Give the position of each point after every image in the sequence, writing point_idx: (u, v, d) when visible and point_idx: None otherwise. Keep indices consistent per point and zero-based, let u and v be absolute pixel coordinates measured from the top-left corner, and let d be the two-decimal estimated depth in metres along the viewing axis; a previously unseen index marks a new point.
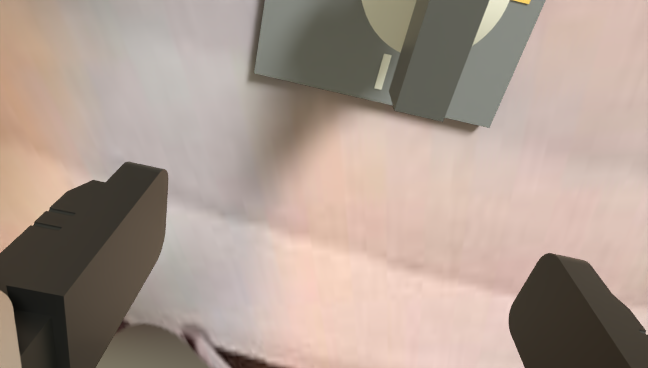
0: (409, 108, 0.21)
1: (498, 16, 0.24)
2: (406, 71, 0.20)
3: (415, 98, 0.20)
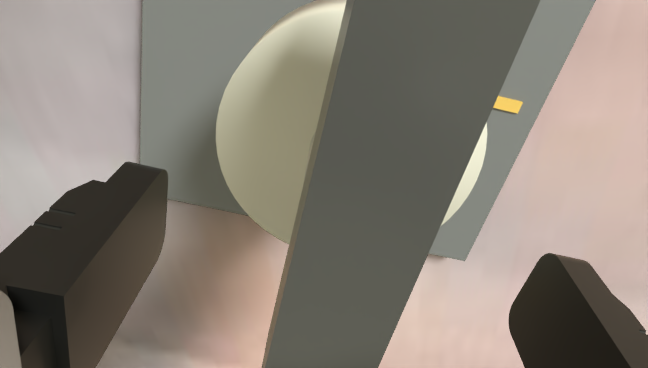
0: None
1: (457, 203, 0.14)
2: None
3: None
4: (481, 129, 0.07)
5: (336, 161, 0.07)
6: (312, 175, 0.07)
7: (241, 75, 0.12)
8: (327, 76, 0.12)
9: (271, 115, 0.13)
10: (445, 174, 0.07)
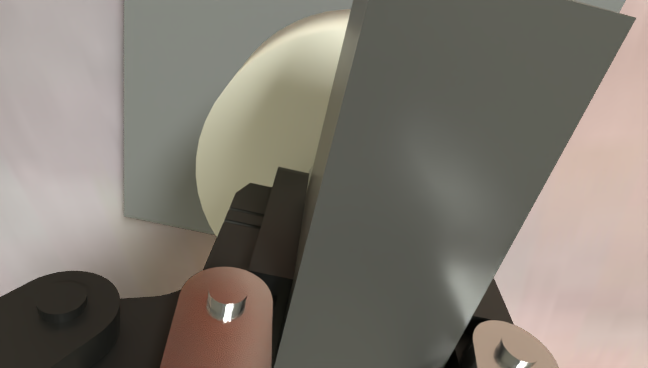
0: None
1: None
2: None
3: None
4: (530, 204, 0.05)
5: (335, 242, 0.05)
6: (303, 258, 0.06)
7: (224, 103, 0.10)
8: (324, 106, 0.10)
9: (259, 149, 0.11)
10: (479, 259, 0.05)
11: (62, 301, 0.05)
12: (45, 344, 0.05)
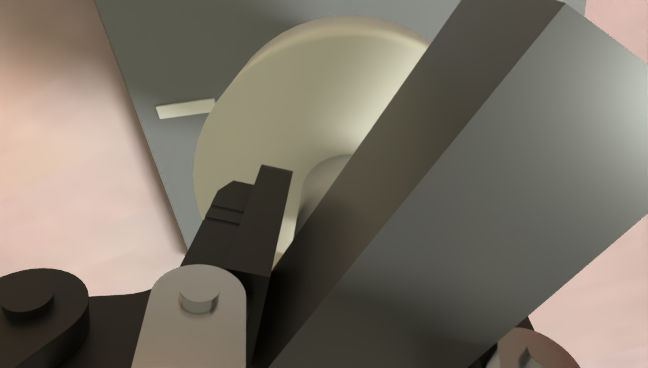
0: None
1: None
2: None
3: None
4: (582, 266, 0.05)
5: (394, 254, 0.05)
6: (355, 262, 0.05)
7: (255, 76, 0.10)
8: (353, 108, 0.10)
9: (274, 131, 0.11)
10: (516, 303, 0.06)
11: (28, 299, 0.05)
12: (8, 342, 0.05)
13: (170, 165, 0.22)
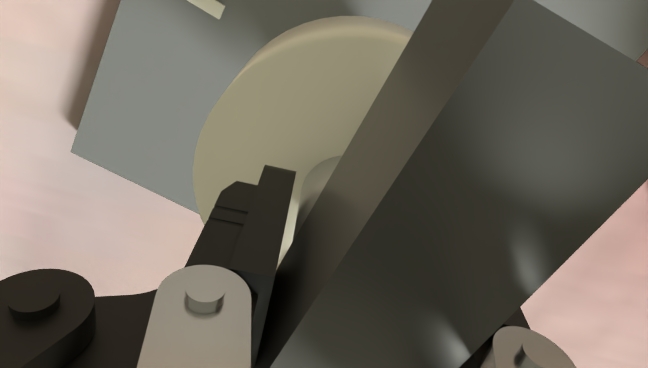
0: None
1: None
2: None
3: None
4: (568, 254, 0.05)
5: (377, 253, 0.05)
6: (340, 263, 0.06)
7: (245, 84, 0.10)
8: (345, 109, 0.10)
9: (268, 136, 0.11)
10: (505, 295, 0.06)
11: (34, 299, 0.05)
12: (15, 342, 0.05)
13: (129, 31, 0.19)
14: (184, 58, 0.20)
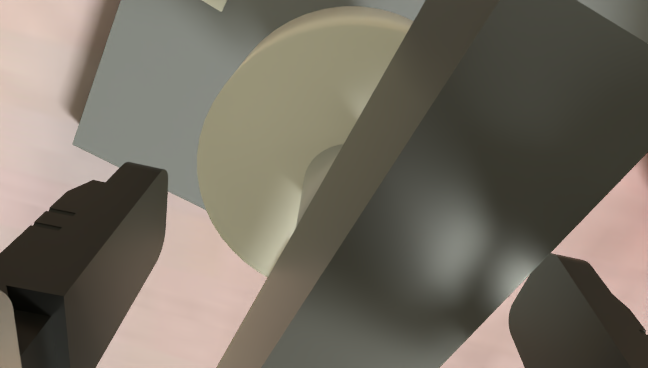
0: None
1: None
2: None
3: None
4: (569, 230, 0.05)
5: (382, 229, 0.06)
6: (344, 240, 0.06)
7: (249, 73, 0.10)
8: (347, 97, 0.10)
9: (271, 125, 0.11)
10: (507, 271, 0.06)
11: None
12: None
13: (132, 23, 0.19)
14: (186, 51, 0.20)
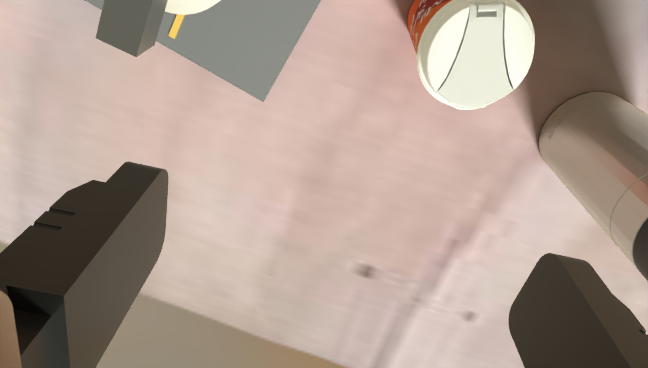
0: (108, 39, 0.26)
1: None
2: (103, 7, 0.25)
3: (111, 31, 0.25)
4: None
5: None
6: None
7: None
8: None
9: None
10: None
11: None
12: None
13: None
14: None
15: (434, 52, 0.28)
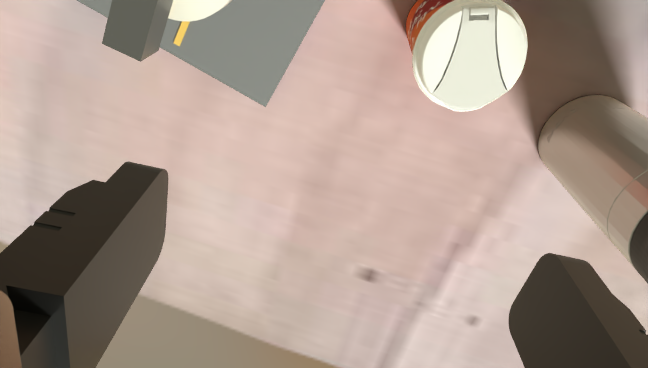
0: (113, 44, 0.27)
1: None
2: (109, 14, 0.26)
3: (117, 37, 0.27)
4: None
5: None
6: None
7: None
8: None
9: None
10: None
11: None
12: None
13: None
14: None
15: (429, 55, 0.29)
